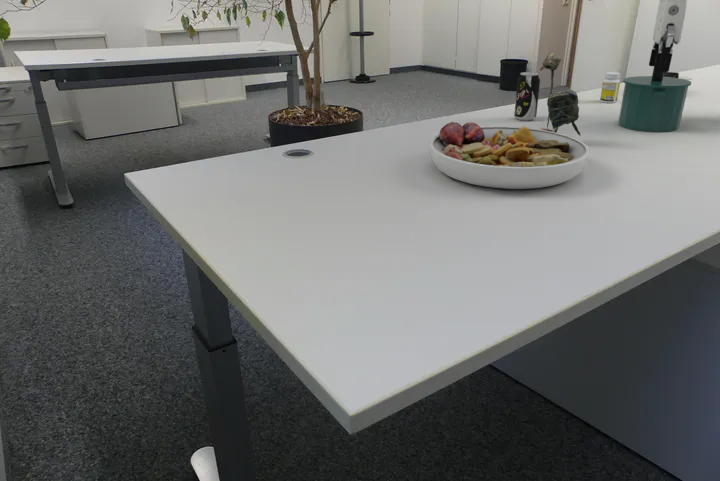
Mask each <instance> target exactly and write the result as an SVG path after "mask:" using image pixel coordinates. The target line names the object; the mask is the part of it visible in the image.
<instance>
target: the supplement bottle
mask: <svg viewBox="0 0 720 481" xmlns="http://www.w3.org/2000/svg"><path fill="white" fill-rule="evenodd" d="M620 77H621V72H616V71H608V72H605V75H604V79H603V80H602V86H601V92H600V98H599V101H600V102H601V103H606V104H615V103H617V102H618V98H619V90H620V86H621V79H620Z"/></svg>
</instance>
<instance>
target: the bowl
mask: <svg viewBox="0 0 720 481" xmlns="http://www.w3.org/2000/svg"><path fill="white" fill-rule="evenodd" d="M428 147H429V150H428V151H429V156H430V159H431V161H432V163H433V164H434V166H435V167H436V168H437V169H438V170H439V171H440V172H441V173H443V174H444V175H446V176H447V177H450V178H452V179H454V180H457V181H460V182H463V183H466V184H470V185H474V186H479V187H484V188H485V187H486V188H494V189H506V190H507V189H508V190H509V189H510V190H528V189H531V190H532V189H541V188H548V187H552V186H556V185H560V184H563V183H565V182H568V181H569V180H572V179H573V178H575V177H577V176H578V175H579V174H580V173H581V172H582V171H583V170H584V169H585V168H586V166H587V164H588V162H589V158H590V153H591V152H590V150H591V149H590V147H589V146H588V145H587V144H586V143H585V142H583V141H581V140H579V139H578V138H575V137H573V136H571V135H567V134H563V133H559V132H557V133H556V132H551V131H546V130H540V128H539V129H538V128H530V127H527V126H524V125H522V126H480V125H479V124H477V123H476V122H466V123H464V124H463V125H462V124H460V123H459V122H455V121H451V122H449V123H446V124H445V125H444V126H442V127H441V128H440V130H439V134H438V135H436V136H434V137H432V139H431V140H430V142H429V146H428Z"/></svg>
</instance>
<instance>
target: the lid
mask: <svg viewBox="0 0 720 481" xmlns="http://www.w3.org/2000/svg"><path fill="white" fill-rule="evenodd" d="M663 75H664V72H655V71H654V70H653V69H652V74H651V75H639V76H638V75H636V76H628V77H624V79H623V83H624V84H625V83H626V84H629V85H634V86H641V87H652V88H681V87H687V86H688V87H690V86H691V85H692V81H691V80H688V79H685V78H679V77H678V78H672V77H663Z"/></svg>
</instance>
